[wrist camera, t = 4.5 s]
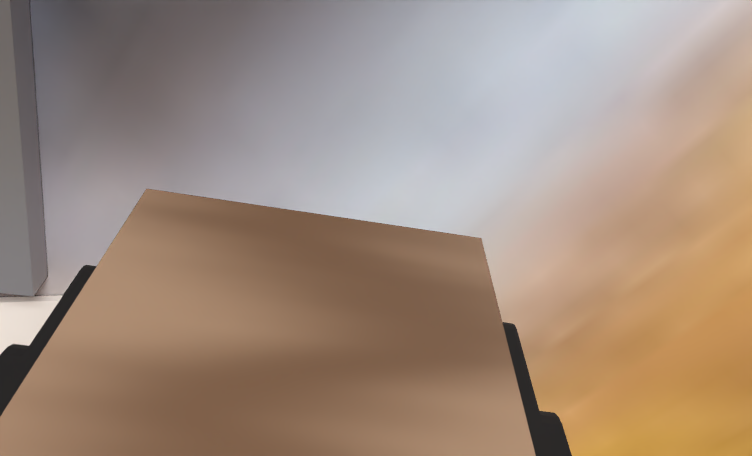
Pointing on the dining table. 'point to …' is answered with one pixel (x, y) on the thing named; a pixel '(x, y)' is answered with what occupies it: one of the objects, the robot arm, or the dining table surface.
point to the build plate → (19, 158)
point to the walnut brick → (274, 343)
